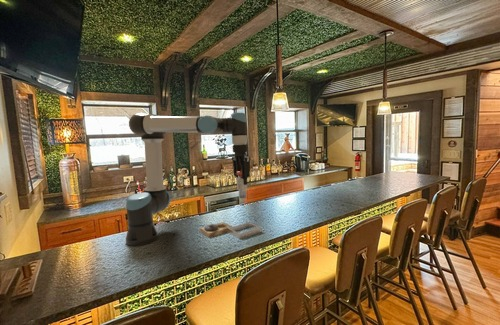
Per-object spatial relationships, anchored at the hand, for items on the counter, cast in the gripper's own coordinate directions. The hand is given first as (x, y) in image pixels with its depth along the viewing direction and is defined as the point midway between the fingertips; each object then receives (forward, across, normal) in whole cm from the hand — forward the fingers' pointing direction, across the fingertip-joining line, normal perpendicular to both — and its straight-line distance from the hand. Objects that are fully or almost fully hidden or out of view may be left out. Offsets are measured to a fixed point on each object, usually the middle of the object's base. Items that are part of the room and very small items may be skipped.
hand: (242, 190), depth 127 cm
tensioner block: (+23, +12, +10) cm, 28 cm away
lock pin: (+4, 0, 0) cm, 4 cm away
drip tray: (+23, 0, 0) cm, 23 cm away
